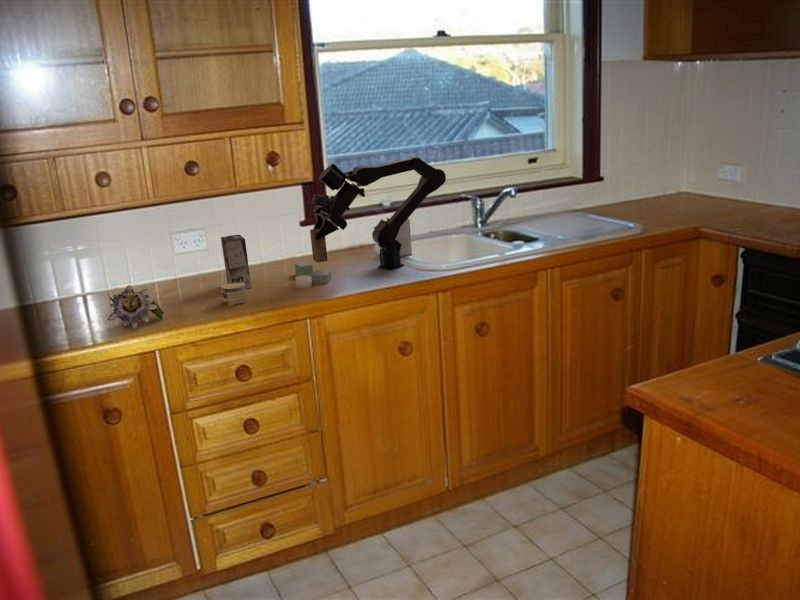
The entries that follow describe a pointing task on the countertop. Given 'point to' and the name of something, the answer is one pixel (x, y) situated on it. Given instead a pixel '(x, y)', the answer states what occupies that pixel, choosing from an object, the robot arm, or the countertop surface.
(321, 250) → the walnut block
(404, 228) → the small box
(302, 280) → the white tub
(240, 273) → the coffee box
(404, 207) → the robot arm
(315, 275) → the grey block
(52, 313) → the countertop surface
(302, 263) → the green block
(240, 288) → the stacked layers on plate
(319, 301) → the countertop surface
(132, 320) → the passion flower
